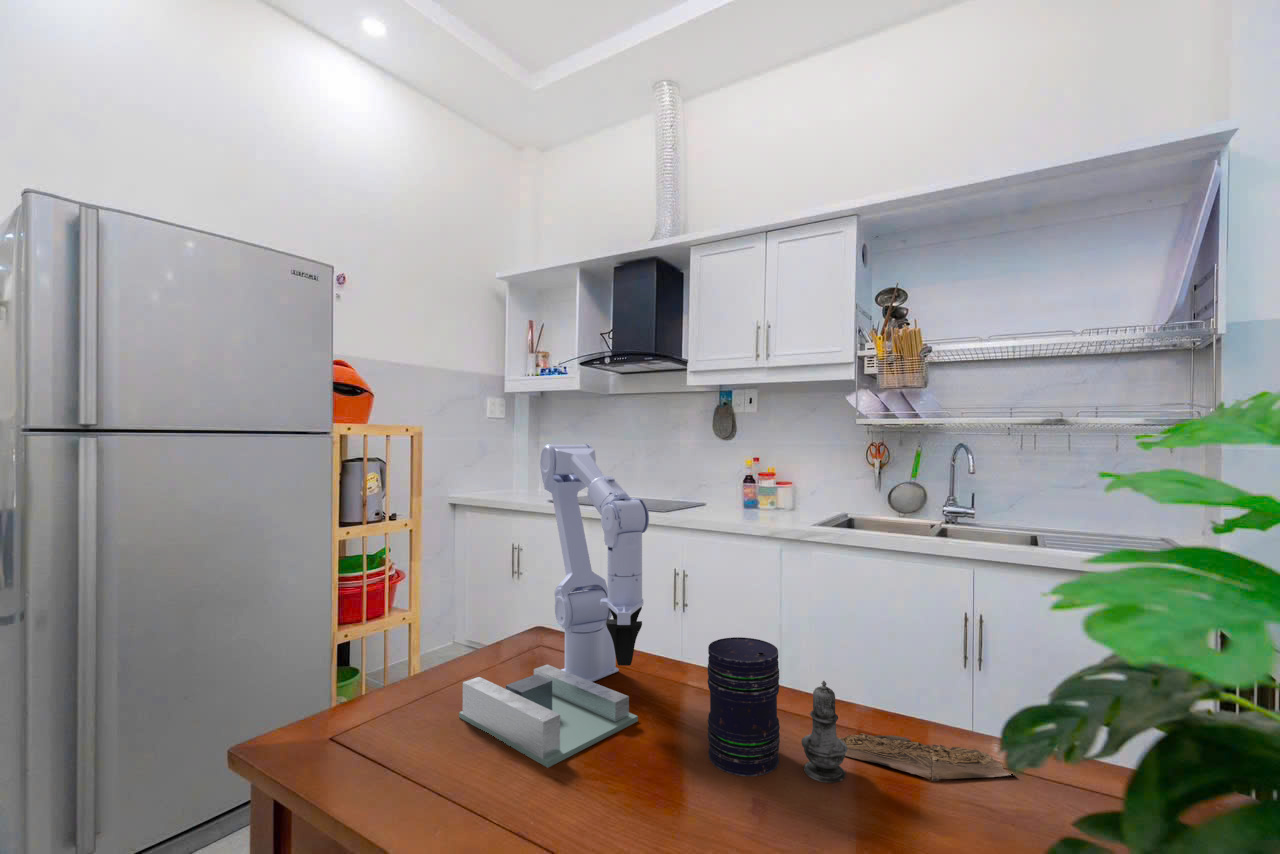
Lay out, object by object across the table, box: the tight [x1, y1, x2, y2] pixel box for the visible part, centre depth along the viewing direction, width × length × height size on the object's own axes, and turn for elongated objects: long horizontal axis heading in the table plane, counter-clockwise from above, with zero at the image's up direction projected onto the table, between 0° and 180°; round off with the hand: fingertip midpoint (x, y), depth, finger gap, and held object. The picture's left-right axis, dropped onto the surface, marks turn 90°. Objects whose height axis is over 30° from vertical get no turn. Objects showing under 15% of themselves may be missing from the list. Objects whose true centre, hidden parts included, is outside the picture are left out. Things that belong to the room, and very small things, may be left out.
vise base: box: [458, 676, 639, 769], centre depth 95 cm, size 18×22×6 cm
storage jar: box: [707, 636, 781, 777], centre depth 84 cm, size 10×10×15 cm
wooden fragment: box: [838, 732, 1017, 782], centre depth 84 cm, size 26×11×1 cm, turn 69°
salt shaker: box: [800, 680, 848, 784], centre depth 80 cm, size 6×6×12 cm
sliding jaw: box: [533, 664, 630, 722], centre depth 100 cm, size 3×20×3 cm, turn 48°
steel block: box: [505, 674, 552, 710], centre depth 95 cm, size 6×4×5 cm, turn 138°
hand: (625, 656), depth 99 cm, fingers open, 7 cm apart
